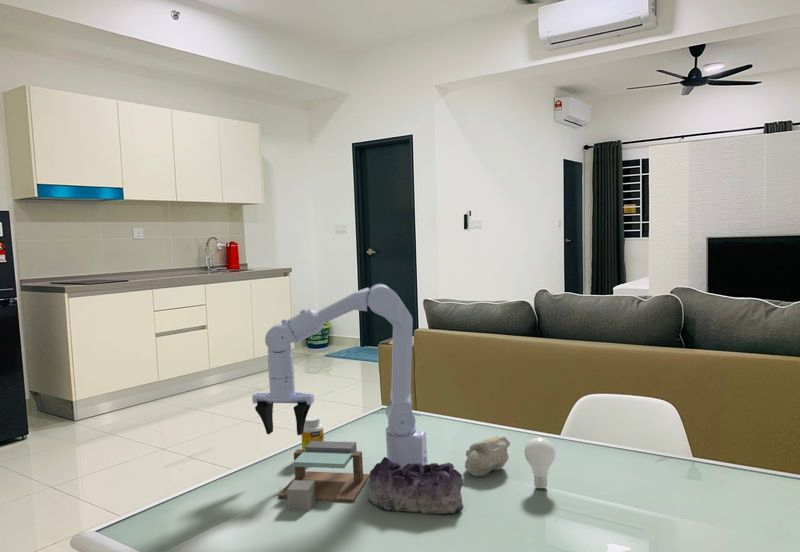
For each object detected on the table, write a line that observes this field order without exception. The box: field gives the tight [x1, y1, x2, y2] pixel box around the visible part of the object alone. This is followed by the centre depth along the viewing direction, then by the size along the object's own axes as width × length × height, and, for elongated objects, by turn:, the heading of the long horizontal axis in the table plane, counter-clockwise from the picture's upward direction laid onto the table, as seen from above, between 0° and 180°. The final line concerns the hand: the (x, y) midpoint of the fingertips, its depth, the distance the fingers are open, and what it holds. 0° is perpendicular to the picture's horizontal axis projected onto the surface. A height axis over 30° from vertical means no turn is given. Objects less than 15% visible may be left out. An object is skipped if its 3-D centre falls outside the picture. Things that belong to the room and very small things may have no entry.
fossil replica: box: [464, 435, 511, 478], centre depth 136 cm, size 12×8×10 cm
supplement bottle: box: [300, 415, 325, 452], centre depth 149 cm, size 6×6×10 cm
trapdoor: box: [292, 440, 358, 470], centre depth 133 cm, size 12×11×2 cm
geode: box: [368, 456, 464, 515], centre depth 121 cm, size 20×12×10 cm, turn 81°
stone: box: [287, 480, 317, 512], centre depth 123 cm, size 4×4×4 cm
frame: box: [277, 448, 370, 503], centre depth 131 cm, size 17×13×7 cm
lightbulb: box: [524, 436, 556, 490], centre depth 126 cm, size 6×6×11 cm
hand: (285, 433), depth 138 cm, fingers open, 7 cm apart
